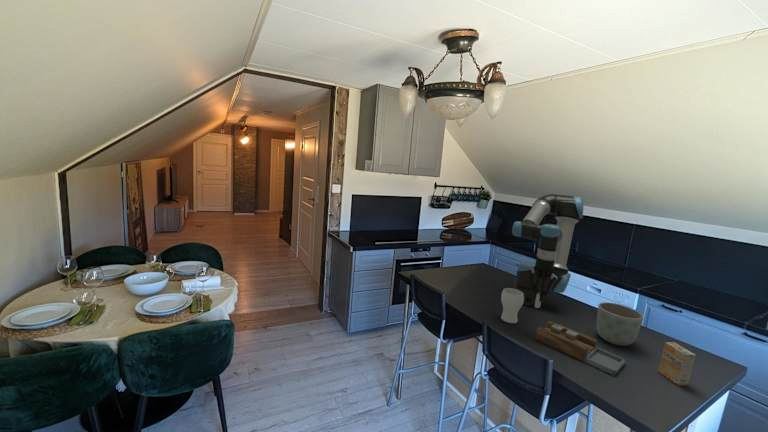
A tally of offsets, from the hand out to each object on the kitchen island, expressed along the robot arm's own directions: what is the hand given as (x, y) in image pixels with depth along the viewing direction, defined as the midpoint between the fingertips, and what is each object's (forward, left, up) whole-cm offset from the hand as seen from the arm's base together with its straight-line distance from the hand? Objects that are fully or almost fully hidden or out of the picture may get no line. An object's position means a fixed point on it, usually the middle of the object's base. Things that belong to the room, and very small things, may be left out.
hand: (537, 306), depth 152 cm
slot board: (0, +14, -13) cm, 19 cm away
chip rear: (0, +10, -10) cm, 14 cm away
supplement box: (-12, +49, -13) cm, 52 cm away
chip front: (0, +16, -10) cm, 19 cm away
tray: (0, +29, -13) cm, 32 cm away
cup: (-1, -13, -13) cm, 18 cm away
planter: (-26, +26, -13) cm, 39 cm away
